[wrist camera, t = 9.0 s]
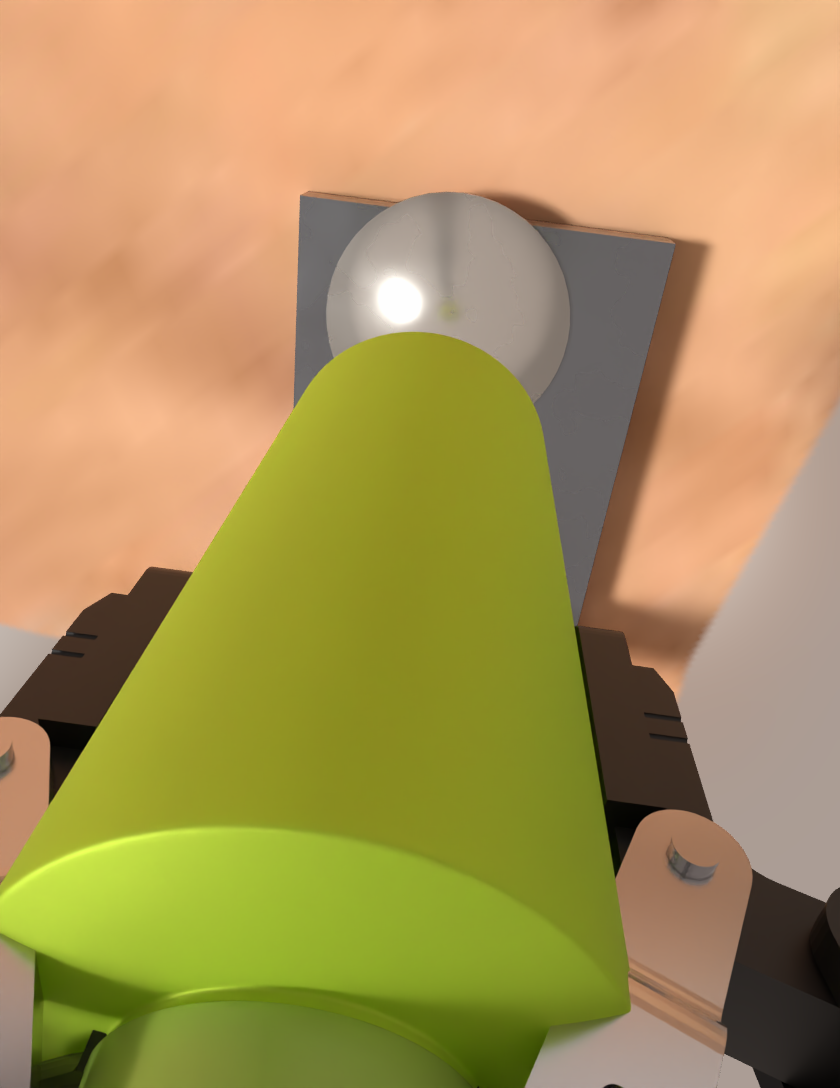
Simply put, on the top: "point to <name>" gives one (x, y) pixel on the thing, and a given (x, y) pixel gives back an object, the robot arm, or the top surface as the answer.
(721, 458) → the top surface
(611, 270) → the plate
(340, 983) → the soap dispenser
